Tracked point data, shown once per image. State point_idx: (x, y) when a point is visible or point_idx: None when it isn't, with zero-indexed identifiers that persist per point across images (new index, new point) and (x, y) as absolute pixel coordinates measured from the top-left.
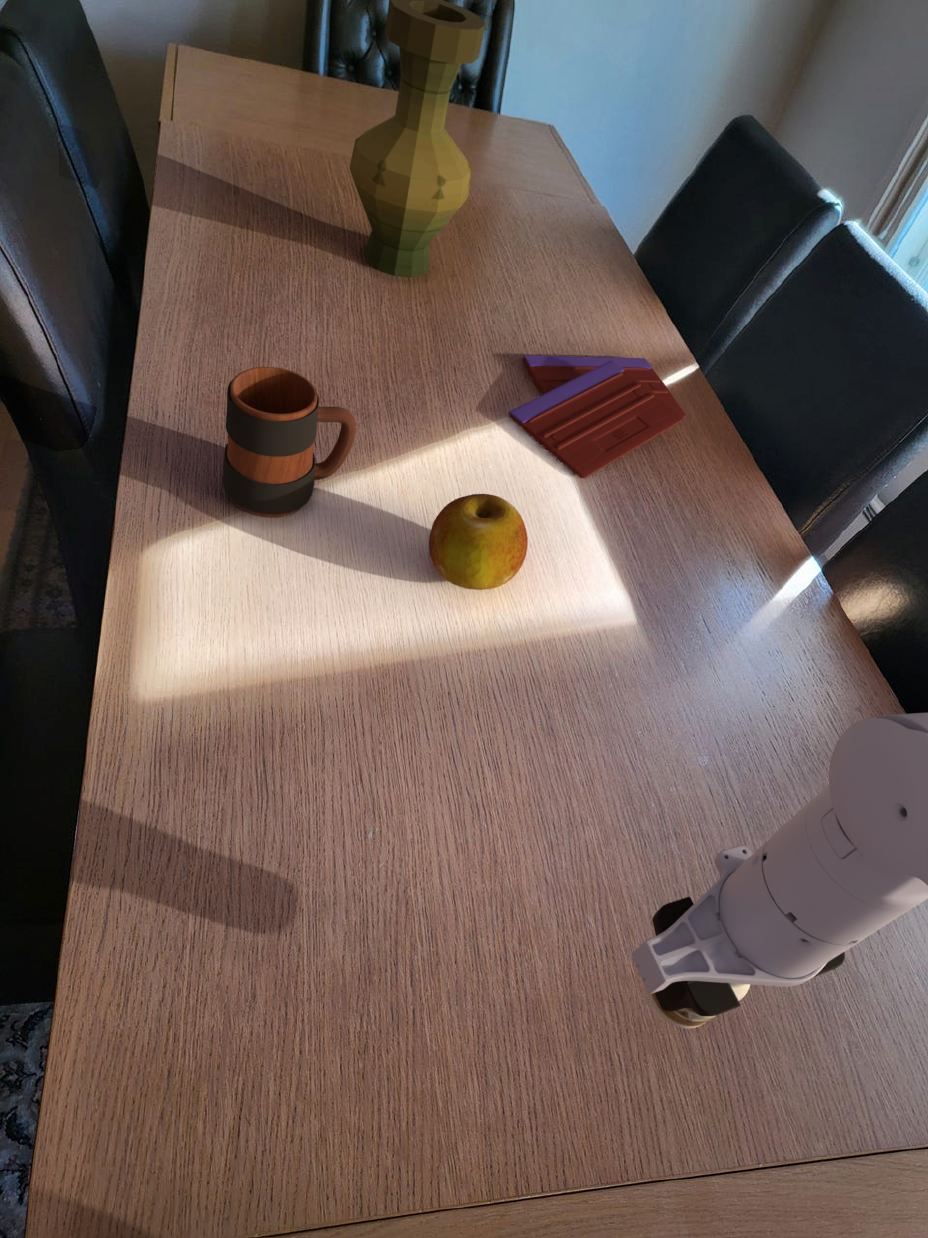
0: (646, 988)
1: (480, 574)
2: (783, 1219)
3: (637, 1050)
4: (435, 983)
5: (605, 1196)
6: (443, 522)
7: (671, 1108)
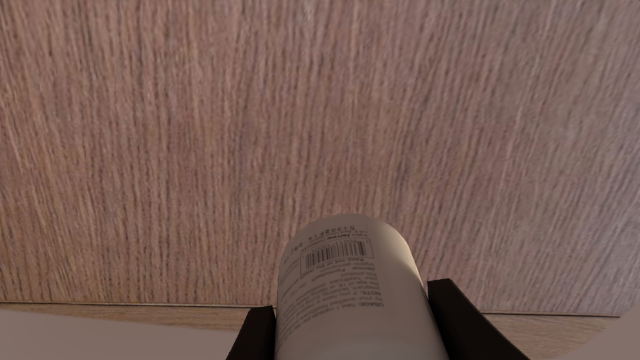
0: (279, 265)
1: None
2: None
3: (323, 199)
4: (18, 82)
5: (238, 312)
6: None
7: None
